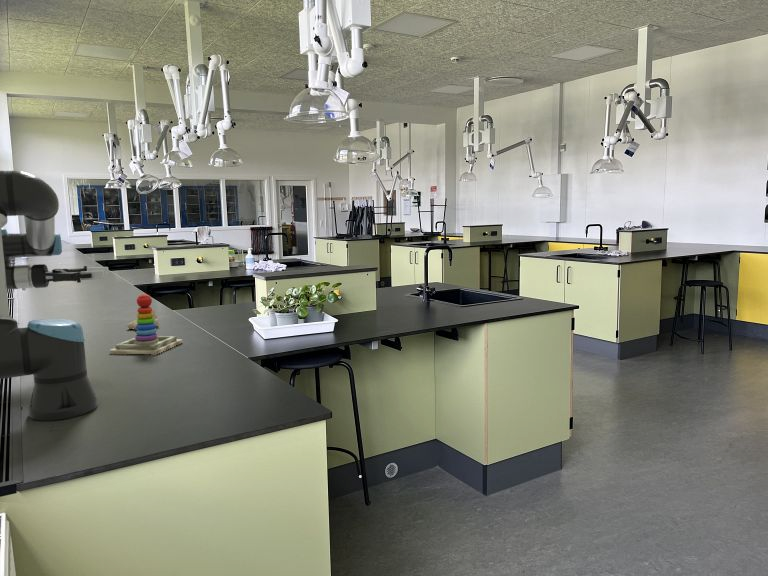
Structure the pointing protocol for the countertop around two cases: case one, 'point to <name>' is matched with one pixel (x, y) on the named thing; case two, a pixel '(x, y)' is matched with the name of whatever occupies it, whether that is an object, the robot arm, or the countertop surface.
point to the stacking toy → (145, 322)
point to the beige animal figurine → (134, 323)
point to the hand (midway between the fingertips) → (106, 272)
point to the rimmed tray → (146, 346)
